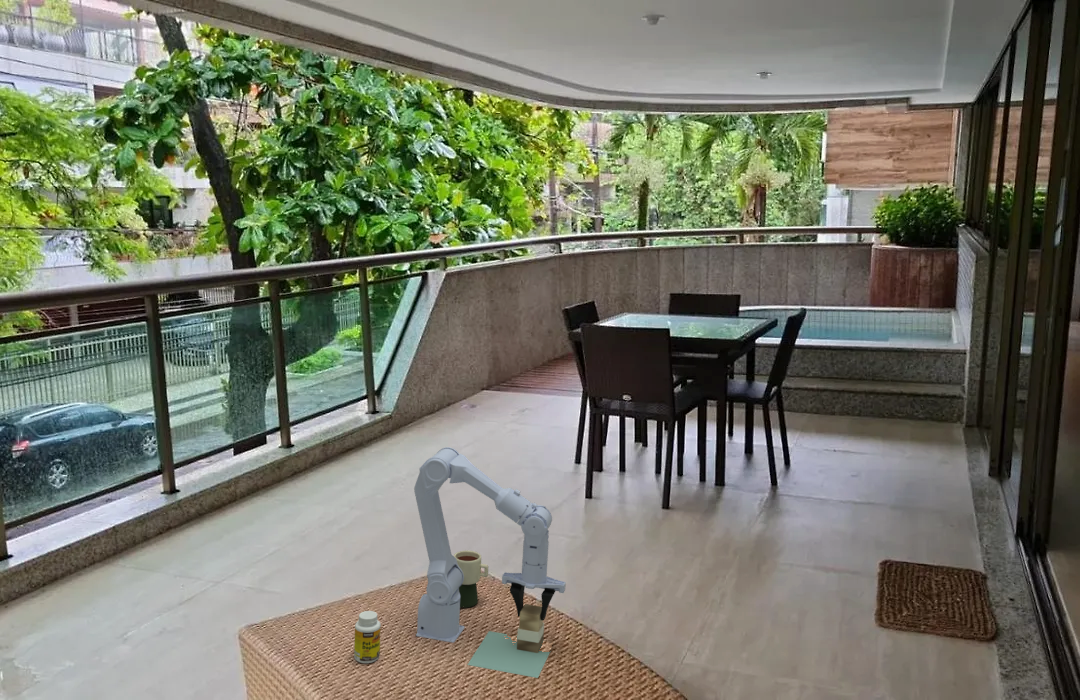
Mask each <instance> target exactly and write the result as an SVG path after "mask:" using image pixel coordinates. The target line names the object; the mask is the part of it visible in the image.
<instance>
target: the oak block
mask: <svg viewBox="0 0 1080 700" xmlns="http://www.w3.org/2000/svg"><path fill="white" fill-rule="evenodd" d="M541 610H542V605H541V606H540V605H534V604H528V603H525V604H523V608H522V610H521V612H520V616H519V622H518V624H519V626H518V628H519V629H523V630H529V631H534V632H539V630H540V628H541V626H542V624H543V623H544V620H541Z"/></svg>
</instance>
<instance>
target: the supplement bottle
mask: <svg viewBox="0 0 1080 700" xmlns="http://www.w3.org/2000/svg"><path fill="white" fill-rule="evenodd" d="M381 624H382V623H381V622H380V621H379V620H378V613H377V612H376V611H373V610H365V611H362V612H360V613H359V614H358V620H357V622H355V625H354V644H353V645H354V646H353V648H354V649H353V650H354V651H353V652H354V654H353V657H354V660H355V661H357V662H358V663H361V664H371V663H374V662H376V661H377V660H379V658H380V656H381V655H380V653H381V629H382V626H381Z"/></svg>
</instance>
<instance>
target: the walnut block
mask: <svg viewBox="0 0 1080 700" xmlns="http://www.w3.org/2000/svg"><path fill="white" fill-rule="evenodd" d="M544 633H545V632H544ZM544 633H543V635H542V637H541V639H540V641H539V643H536V642H530V641H524V640H519V639H517V650H523V651H528V652H534V653H538V652H539V650H540V648H541V646H542V643H543V641H544Z"/></svg>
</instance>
